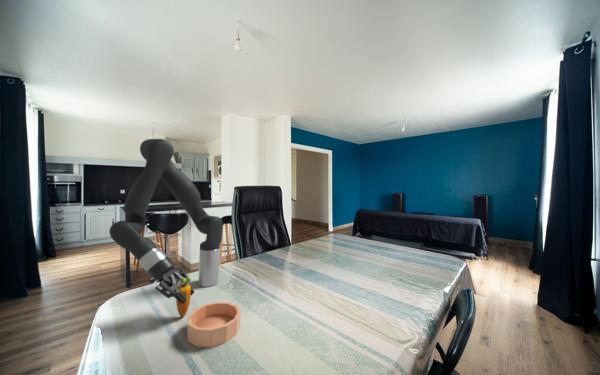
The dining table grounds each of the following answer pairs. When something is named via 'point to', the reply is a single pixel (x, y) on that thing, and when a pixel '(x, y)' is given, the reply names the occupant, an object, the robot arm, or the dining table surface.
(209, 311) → the terracotta bowl
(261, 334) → the dining table surface
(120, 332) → the dining table surface
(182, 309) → the carrot
